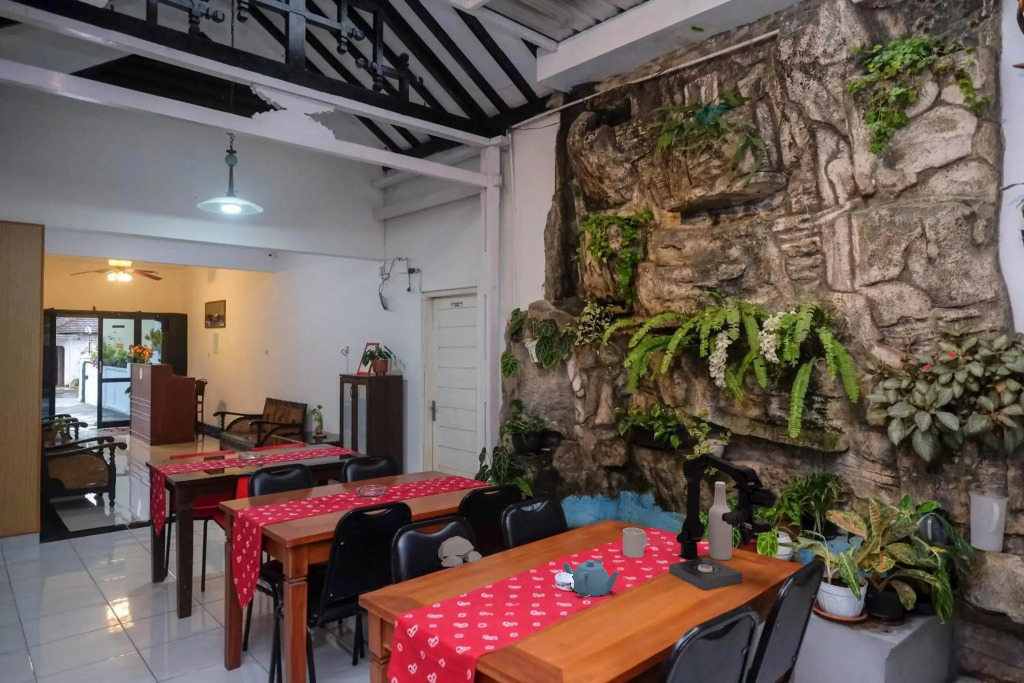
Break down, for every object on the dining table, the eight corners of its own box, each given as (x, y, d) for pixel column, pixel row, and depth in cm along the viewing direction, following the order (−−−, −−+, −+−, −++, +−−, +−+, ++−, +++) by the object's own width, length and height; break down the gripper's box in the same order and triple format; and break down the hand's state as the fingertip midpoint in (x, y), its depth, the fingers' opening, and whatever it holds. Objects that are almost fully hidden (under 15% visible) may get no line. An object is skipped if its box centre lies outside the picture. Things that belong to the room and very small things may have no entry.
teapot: (561, 586, 219) (561, 555, 220) (600, 581, 224) (600, 551, 224) (579, 603, 205) (579, 570, 205) (620, 597, 209) (620, 565, 210)
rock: (488, 561, 245) (489, 537, 245) (456, 577, 228) (456, 550, 228) (453, 553, 255) (453, 529, 255) (419, 567, 238) (419, 542, 238)
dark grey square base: (669, 573, 232) (669, 564, 232) (706, 566, 240) (706, 557, 240) (703, 590, 216) (703, 580, 216) (742, 582, 223) (742, 572, 223)
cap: (694, 576, 228) (695, 565, 228) (704, 574, 231) (704, 563, 231) (705, 581, 224) (706, 570, 224) (715, 579, 227) (715, 567, 227)
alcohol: (708, 559, 248) (708, 484, 248) (708, 552, 256) (708, 479, 256) (732, 561, 245) (732, 485, 246) (731, 554, 254) (731, 480, 254)
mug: (639, 549, 259) (639, 525, 259) (654, 555, 252) (654, 529, 253) (618, 555, 253) (618, 529, 253) (633, 561, 246) (633, 534, 246)
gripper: (710, 499, 232) (710, 541, 232) (749, 511, 215) (749, 556, 215) (732, 496, 237) (733, 537, 237) (772, 507, 220) (772, 552, 220)
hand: (746, 545), depth 227 cm, fingers closed
